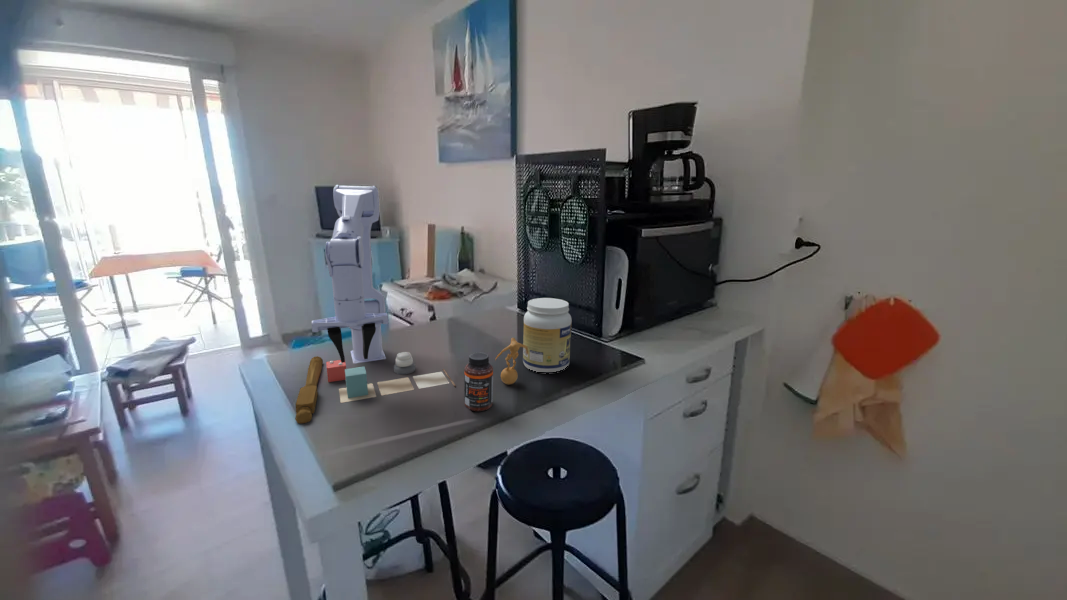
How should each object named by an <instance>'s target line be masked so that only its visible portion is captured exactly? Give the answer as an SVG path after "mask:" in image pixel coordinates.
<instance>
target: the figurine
mask: <svg viewBox="0 0 1067 600" xmlns="http://www.w3.org/2000/svg"><path fill="white" fill-rule="evenodd" d="M510 339H511V340H510V344H509V345H508V346H506V347H504V348H503V349H502V350H501V351H500V352H499V353H498V354H497V356H496V357H495V361H496V360H497V358H499V357H500V356H501V355H503V353H504V352H506V351H508V350H509V351H510V353H507V356H506V357H505V362H506V365H507V367H504V369H502V370H501V372H500V379H501V382H503V384H505V385H513V384H514V383H516V381H517V379H518V375H519V374H518V371H517V370H516V369H515V368H516V364H517V361H516V359H517V358H518V357H519V352H518V351H519V350H520V348H522V349H523V348H526V354H528V347H527V346H526V345H523V343H520V342H518V341H517V340H516V338H515V337H511V338H510ZM511 359H512V363H513V365H512V366H510V365H511V363H510V360H511Z"/></svg>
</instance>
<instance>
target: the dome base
mask: <svg viewBox="0 0 1067 600" xmlns="http://www.w3.org/2000/svg"><path fill="white" fill-rule="evenodd" d="M415 371H416V363H415V362H413V364H412V365H410V366H407V367H399V366H396V363H394V365H393V373H395V374H396V375H397V374H398V375H408V374H412V373H414V372H415Z"/></svg>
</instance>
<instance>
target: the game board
mask: <svg viewBox="0 0 1067 600" xmlns="http://www.w3.org/2000/svg"><path fill="white" fill-rule="evenodd" d="M443 372H444V373H443ZM412 378H413V380H414V382H415V384H416V386H417V388H418V390H421V389H425V388H432V387H437V386H438V387H439V386H443V385H448V384H450V382H451V384H452V385H453V387H454V388H457V386H456V384H455V382H454V381H453V379H452V378H451V377H450V376H449V373H447V371H446V370H445V368H443V369H442V371H437V372H432V373H425V374H420V375H419V374H418V375H413V376H412ZM449 381H450V382H449ZM376 384H377V386H378V389H379V393H380V395H381V397H383V396H387V395H388V396H389V395H393V394H398V393H405V392H409V391H414V390H415V388H414V386H413V384H412V381H411V380H410V378H409V377H408V376H407V377H406V376H405V377H401V378H397V379H396V378H395V379H390V380H383V381H378V382H377V381H376ZM367 387H368V395H364V396H358V397H353V398H348V395H347V388H346V387H341V388H338V392H339V393H338V394H339V399H340V400H339V401H340V404H344V403H349V402H355V401H359V400H366V399H371V398H377V394H376V390H375V387H374V384H373V383H367Z"/></svg>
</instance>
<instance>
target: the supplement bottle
mask: <svg viewBox="0 0 1067 600" xmlns="http://www.w3.org/2000/svg"><path fill="white" fill-rule="evenodd" d="M489 358H490V357H489V354H487V353H486V352H481V351H479V352H473V353H471V354H469V356H468V363H467V364H466V365H465V366H464V369H463V371H464V373H463V374H464V380H463V381H464V384H463V385H464V391H463V392H464V396H463V397H464V399H463V400H464V406H465V407H466V408H468V409H469V410H470V411H472V412H483V411H487V410H489V409H490V408H492V406H493V403H494V402H493V401H494V367H493V365H492V364H491V363H490V362H489V361H490V360H489Z"/></svg>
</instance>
